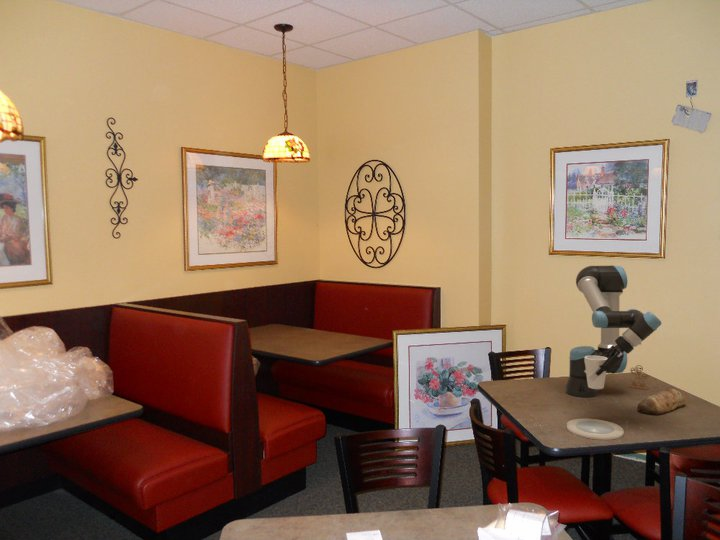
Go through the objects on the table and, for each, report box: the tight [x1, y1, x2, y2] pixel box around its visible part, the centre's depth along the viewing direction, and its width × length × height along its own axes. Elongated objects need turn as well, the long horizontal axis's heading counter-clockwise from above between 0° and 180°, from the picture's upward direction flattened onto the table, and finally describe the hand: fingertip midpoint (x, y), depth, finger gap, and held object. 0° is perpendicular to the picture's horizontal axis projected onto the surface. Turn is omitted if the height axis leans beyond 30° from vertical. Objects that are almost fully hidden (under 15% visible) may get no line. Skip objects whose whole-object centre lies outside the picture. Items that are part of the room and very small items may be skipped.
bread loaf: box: [637, 388, 686, 416], centre depth 269 cm, size 35×18×9 cm, turn 133°
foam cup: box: [584, 356, 608, 390], centre depth 252 cm, size 10×9×13 cm
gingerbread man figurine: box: [628, 364, 650, 391], centre depth 301 cm, size 9×4×12 cm, turn 50°
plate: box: [566, 417, 625, 441], centre depth 241 cm, size 22×22×1 cm
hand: (588, 376), depth 252 cm, fingers closed on foam cup, 9 cm apart
